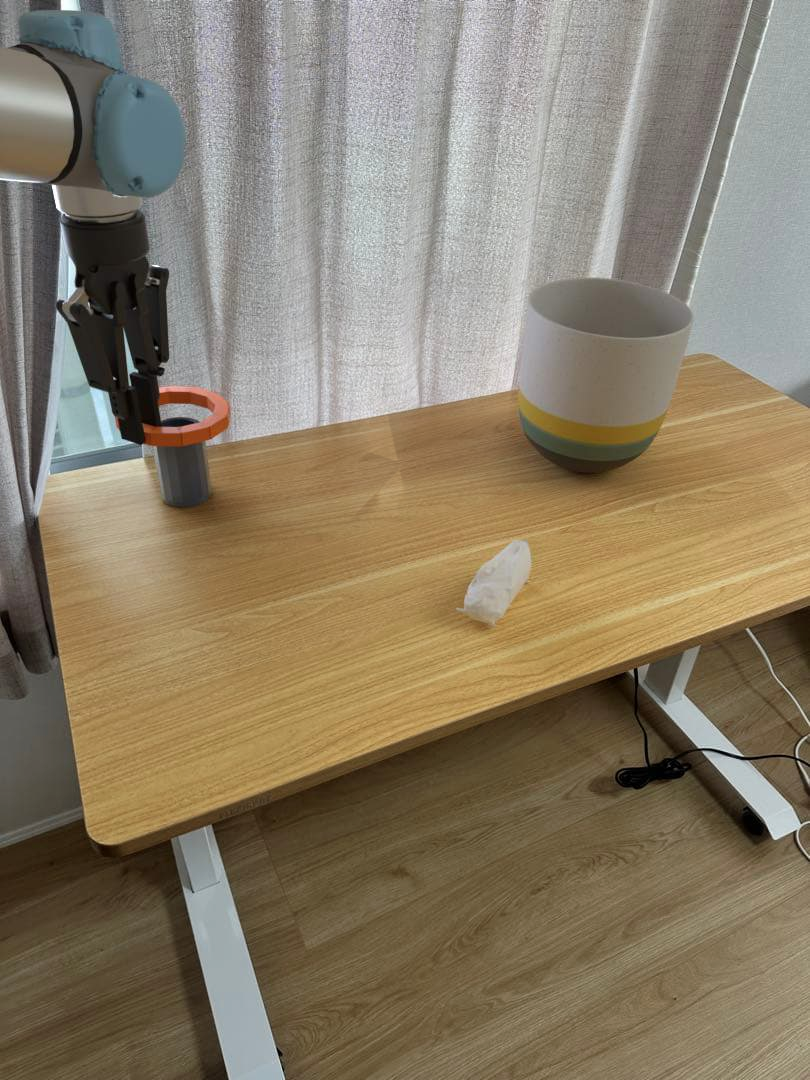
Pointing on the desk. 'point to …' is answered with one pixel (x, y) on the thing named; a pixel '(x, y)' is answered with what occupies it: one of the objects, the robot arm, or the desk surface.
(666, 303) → the planter
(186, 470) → the cup
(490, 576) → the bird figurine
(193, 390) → the ring
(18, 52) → the robot arm
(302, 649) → the desk surface
